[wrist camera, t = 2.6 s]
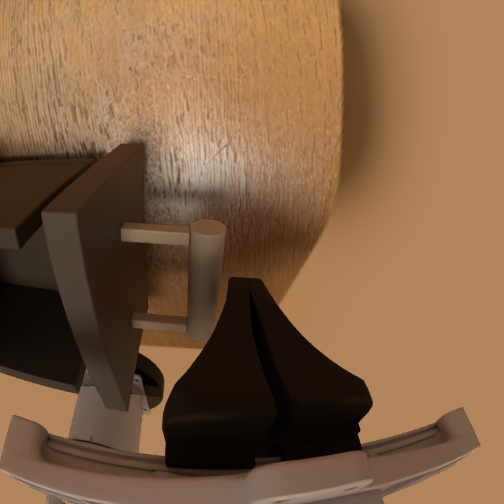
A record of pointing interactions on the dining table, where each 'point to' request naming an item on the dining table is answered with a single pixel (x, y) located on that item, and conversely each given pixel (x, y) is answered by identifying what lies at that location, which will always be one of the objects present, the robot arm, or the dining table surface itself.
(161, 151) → the dining table surface
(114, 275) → the open drawer with handle
